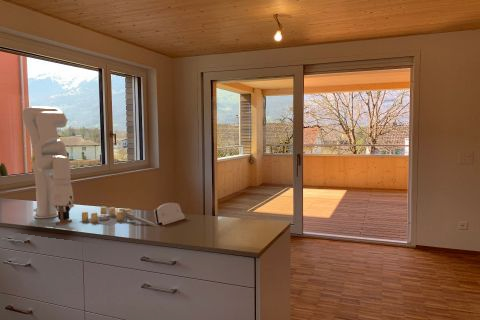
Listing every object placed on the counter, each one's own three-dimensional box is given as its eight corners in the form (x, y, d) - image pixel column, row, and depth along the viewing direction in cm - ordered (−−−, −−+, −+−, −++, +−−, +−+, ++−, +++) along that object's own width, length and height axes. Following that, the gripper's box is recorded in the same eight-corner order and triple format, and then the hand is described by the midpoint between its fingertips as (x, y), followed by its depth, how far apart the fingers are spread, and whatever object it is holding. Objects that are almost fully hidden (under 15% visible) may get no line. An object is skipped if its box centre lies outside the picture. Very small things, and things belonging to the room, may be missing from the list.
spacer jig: (78, 223, 179) (77, 213, 178) (104, 215, 195) (103, 206, 195) (110, 226, 171) (109, 216, 171) (134, 218, 188) (134, 208, 188)
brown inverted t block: (55, 225, 174) (54, 207, 173) (67, 222, 181) (66, 204, 180) (60, 226, 173) (59, 207, 172) (72, 222, 179) (71, 205, 179)
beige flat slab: (162, 225, 173) (157, 205, 174) (156, 227, 176) (150, 207, 177) (185, 218, 187) (180, 199, 188) (179, 220, 190) (174, 201, 191)
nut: (95, 220, 182) (95, 216, 182) (104, 217, 188) (103, 213, 187) (103, 220, 180) (103, 216, 180) (111, 218, 186) (111, 214, 186)
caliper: (121, 221, 180) (121, 209, 179) (122, 221, 181) (122, 209, 180) (155, 226, 172) (155, 214, 171) (156, 226, 173) (156, 213, 172)
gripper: (43, 182, 175) (45, 219, 176) (68, 183, 169) (70, 222, 170) (56, 180, 182) (58, 216, 183) (80, 181, 176) (82, 218, 177)
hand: (63, 218), depth 177 cm, fingers closed on brown inverted t block, 2 cm apart
